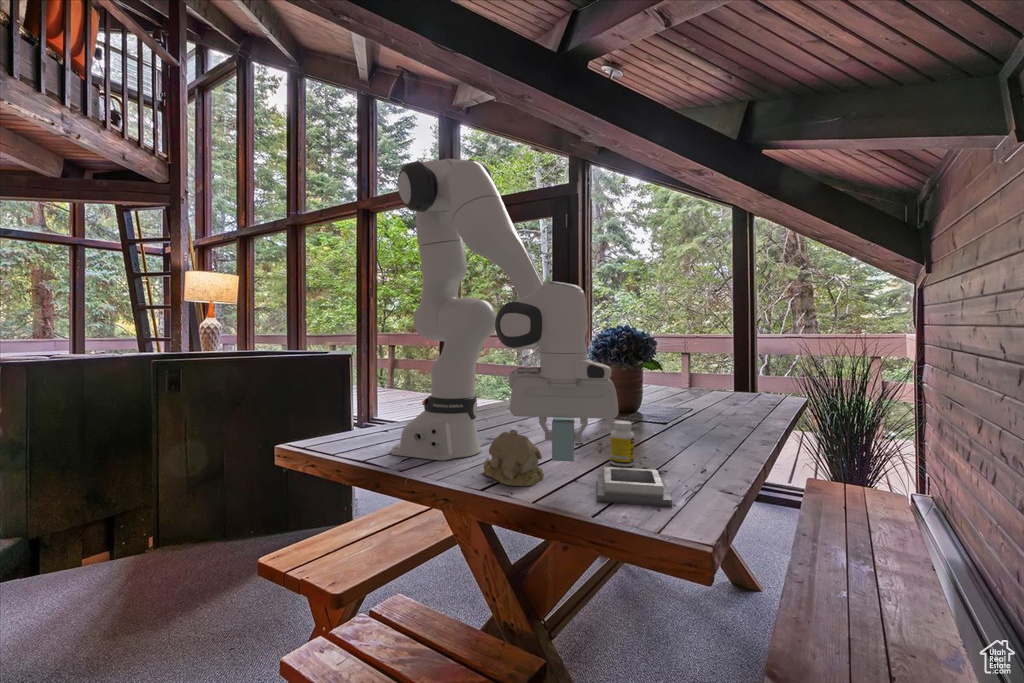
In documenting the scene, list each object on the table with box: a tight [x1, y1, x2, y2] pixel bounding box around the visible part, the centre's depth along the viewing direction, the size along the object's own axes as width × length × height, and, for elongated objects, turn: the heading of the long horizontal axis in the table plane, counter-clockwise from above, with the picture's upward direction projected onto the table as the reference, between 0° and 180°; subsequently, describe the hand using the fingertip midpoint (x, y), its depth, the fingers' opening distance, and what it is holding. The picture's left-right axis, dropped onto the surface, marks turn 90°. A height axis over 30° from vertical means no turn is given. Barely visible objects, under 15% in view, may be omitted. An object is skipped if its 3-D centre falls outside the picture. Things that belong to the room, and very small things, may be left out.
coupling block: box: [551, 417, 575, 463], centre depth 91 cm, size 4×6×7 cm
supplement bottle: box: [609, 420, 635, 468], centre depth 113 cm, size 5×5×10 cm
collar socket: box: [596, 466, 673, 508], centre depth 93 cm, size 13×13×3 cm
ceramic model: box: [483, 429, 545, 487], centre depth 103 cm, size 14×11×10 cm
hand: (563, 440), depth 91 cm, fingers closed on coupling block, 4 cm apart
